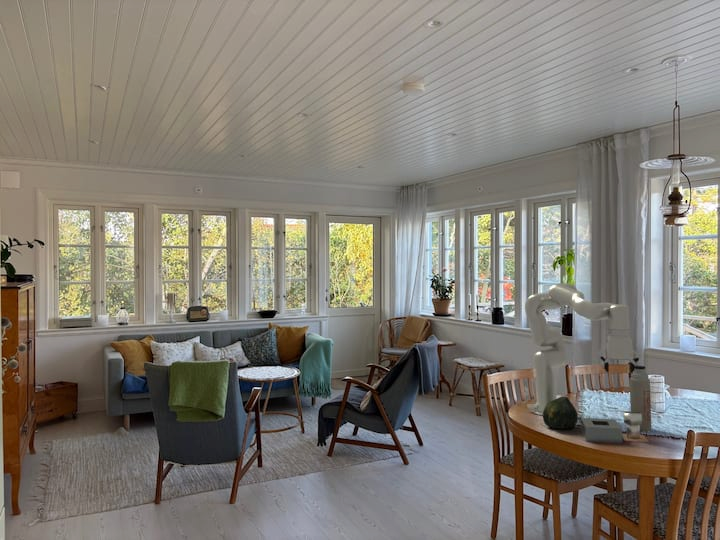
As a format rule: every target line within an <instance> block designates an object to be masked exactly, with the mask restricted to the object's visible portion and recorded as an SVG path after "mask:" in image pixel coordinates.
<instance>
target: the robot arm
mask: <svg viewBox="0 0 720 540" xmlns="http://www.w3.org/2000/svg"><path fill="white" fill-rule="evenodd" d="M563 306H565V307H566V306H567V307H568V308H570V309H572V310H573V311H574V312H575V313H576V314H577V315H578V316H581V317H583V318H585V319H588V320H590V321H602V320H603V321H607V320H609V329H606V330H605V333H606V334H608V335H607V339H606V346H605V347H606V348H604V349H602V350H599V351H597V355H598V357H599V358H600V359H601V360H602V361H603V365H604V366H603V367H604V368H603V369H604V371H605V372H606V373H610V372H609V370H610V368H609V365H610V364H609V362H610V360H613V361H615V360H616V361H617V360H618V361H619V360H620V361H629V362H630V363H629V373H630V374H631V373H633V371H634V366H635V365H636V363H637V362H638V361H640V358H641V357H642V353H641V352H639V351H636V350H635V349H633V348H634V347H633V340H632V336H630V308H629V306H628V305H627V304H616V303H611V302H599V303H598V302H596V303H593V302H590V301H588V300H585V294H584V293H583V292H582V291H579V290H578V289H577V287H576V286H575V285H574V284H572V283H568V282H567V283H555V284H553V285H551V286H550V287H549V289H548V292H542V293H541V292H540V293H538V292H537V293H534V294H531V295H530V296H528V298H527V299H526V301H525V302H524V310H525V311H524V312H525V314H526V318H527V319H528V326H529V330H530V335H531V339H532V344H533V345H534V346H535V347H537V348H548V349H542V350H539V351H537V352H535V354H534V355H533V358H532V360H533V364H534V365H533V367H534V370H535V371H534V372H535V383H536V384H535V386H536V402H535V403H533V404H530V403H529V404H528V403H526V405H527V409H529V410H533V413H534V414H535V415H537V414H538V416H542V415H543V411H544V409H545V406H546V405H547V403H549V402H551V401H553V400H555V399H557V397H558V396H557V378H556V377H557V376H556V374H555V372H554V369H556V368H561V367H563V366H565V364H566V362H567V353H566V348H565V343H564V342H565V341H564V338H563V335H562V333H561V331H560V330H559V329H558V328H556V327H551V326H550V327H549V326H548V324H547V318H546V317H545V315H544V313H543V312H542V311H549V310H550V311H551V310H556V309H559V308H560V307H563ZM603 354H605V356H606V357H604V356H603ZM634 355H636V356H635V357H634Z"/></svg>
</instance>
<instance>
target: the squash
mask: <svg viewBox="0 0 720 540" xmlns="http://www.w3.org/2000/svg"><path fill="white" fill-rule="evenodd" d="M542 418H543V419H542V420H543V423H544V424H545V426H547V427H548V428H550V427H552V429H558V428H559V429H566V430H572V429H574V428H575V427H576V425H577V422H578V412H577V409H576V407H575V406H574V405H573V403H572V402H571V400H570V399H569V398H568V397H567V396H561V397H558V398H557V399H555V400H553V401H551V402H549V403H547V405H546V406H545V409H544V411H543V416H542Z"/></svg>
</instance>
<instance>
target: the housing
mask: <svg viewBox="0 0 720 540" xmlns="http://www.w3.org/2000/svg"><path fill="white" fill-rule="evenodd" d="M580 432H582V433H581V435H582V437H583V439H584V440H585V442H592V443H609V444H610V443H611V444H623V438H622V434H623V428H622V427H621V425H620V424H619V423H618V421H617V420H616V419H613V418H589V417H580Z"/></svg>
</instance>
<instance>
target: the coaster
mask: <svg viewBox="0 0 720 540" xmlns="http://www.w3.org/2000/svg"><path fill="white" fill-rule="evenodd" d="M622 440H623V442H624V441H625V442H638V443H639V442H641V443H649V440H648V439H647V438H646V437H645V435H644V434H640V439H631V438H628V437H627V433H622Z"/></svg>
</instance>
